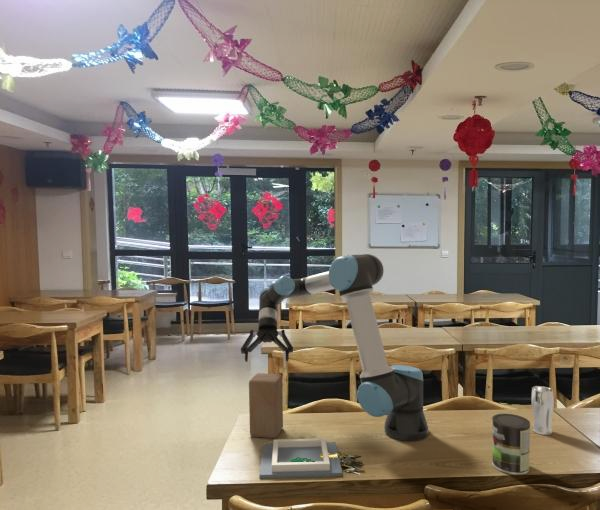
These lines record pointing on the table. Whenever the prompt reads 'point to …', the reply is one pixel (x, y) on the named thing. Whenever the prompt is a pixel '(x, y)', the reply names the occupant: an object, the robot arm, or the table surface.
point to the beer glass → (542, 409)
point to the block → (266, 405)
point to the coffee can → (511, 444)
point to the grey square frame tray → (282, 450)
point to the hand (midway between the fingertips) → (266, 368)
